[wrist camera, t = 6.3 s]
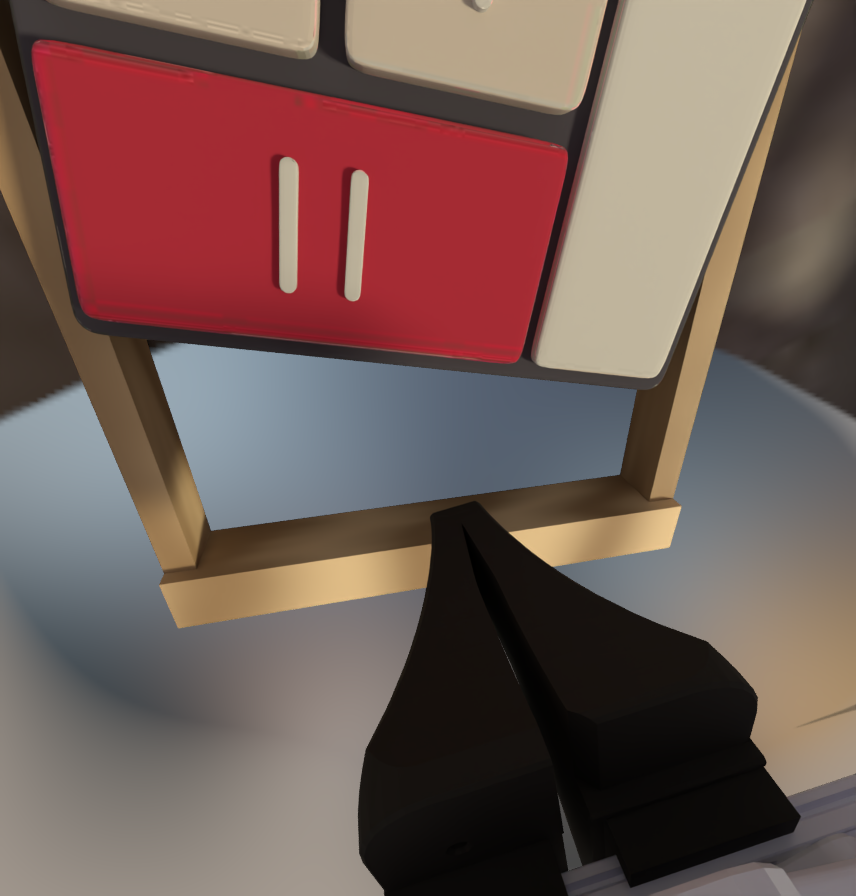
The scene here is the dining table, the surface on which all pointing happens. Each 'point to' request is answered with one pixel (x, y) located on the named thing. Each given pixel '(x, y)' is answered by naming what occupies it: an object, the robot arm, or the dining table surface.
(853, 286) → the dining table surface
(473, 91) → the calculator
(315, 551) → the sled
